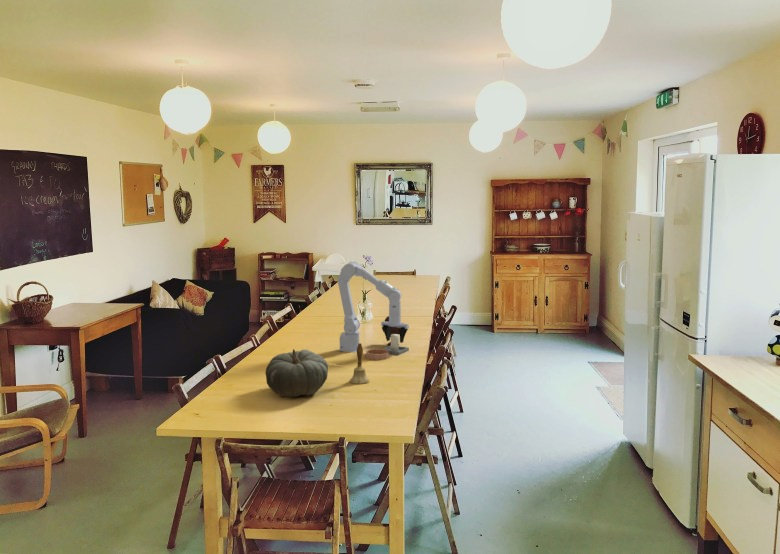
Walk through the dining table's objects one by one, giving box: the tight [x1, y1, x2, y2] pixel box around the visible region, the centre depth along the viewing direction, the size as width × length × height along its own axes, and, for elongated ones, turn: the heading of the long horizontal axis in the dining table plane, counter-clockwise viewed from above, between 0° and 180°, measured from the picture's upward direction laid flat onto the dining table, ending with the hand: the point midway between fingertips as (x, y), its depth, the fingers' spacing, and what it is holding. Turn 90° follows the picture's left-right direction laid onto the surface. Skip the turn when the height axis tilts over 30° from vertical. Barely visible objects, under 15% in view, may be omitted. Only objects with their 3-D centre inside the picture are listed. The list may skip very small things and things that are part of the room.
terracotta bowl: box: [365, 348, 390, 361], centre depth 290 cm, size 11×11×3 cm
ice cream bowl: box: [381, 315, 401, 347], centre depth 315 cm, size 11×11×15 cm
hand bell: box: [349, 342, 370, 385], centre depth 253 cm, size 8×8×16 cm
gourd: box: [265, 349, 329, 398], centre depth 239 cm, size 25×25×17 cm
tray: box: [382, 345, 410, 356], centre depth 300 cm, size 10×10×2 cm
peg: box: [390, 334, 400, 352], centre depth 300 cm, size 4×4×8 cm
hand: (394, 341), depth 300 cm, fingers open, 7 cm apart
